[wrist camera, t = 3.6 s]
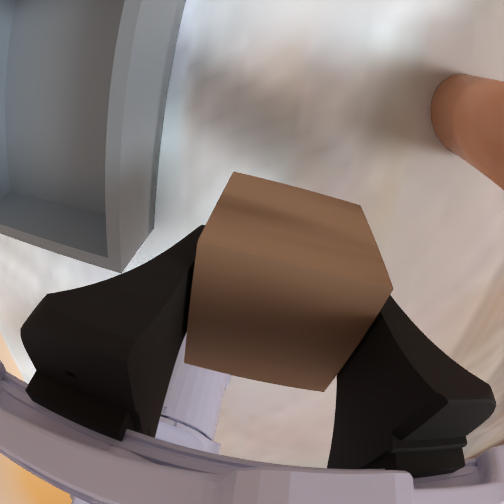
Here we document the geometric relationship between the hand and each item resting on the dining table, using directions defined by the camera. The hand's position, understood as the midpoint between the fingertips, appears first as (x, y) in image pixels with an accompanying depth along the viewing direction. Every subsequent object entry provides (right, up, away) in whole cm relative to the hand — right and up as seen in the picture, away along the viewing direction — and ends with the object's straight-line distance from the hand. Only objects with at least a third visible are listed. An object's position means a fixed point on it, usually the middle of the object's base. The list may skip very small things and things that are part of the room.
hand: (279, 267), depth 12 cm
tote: (-12, +11, +4) cm, 17 cm away
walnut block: (0, +1, +1) cm, 2 cm away
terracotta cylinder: (+11, +8, +2) cm, 14 cm away
